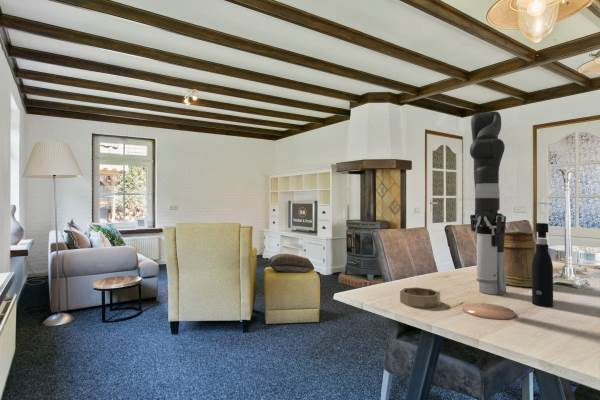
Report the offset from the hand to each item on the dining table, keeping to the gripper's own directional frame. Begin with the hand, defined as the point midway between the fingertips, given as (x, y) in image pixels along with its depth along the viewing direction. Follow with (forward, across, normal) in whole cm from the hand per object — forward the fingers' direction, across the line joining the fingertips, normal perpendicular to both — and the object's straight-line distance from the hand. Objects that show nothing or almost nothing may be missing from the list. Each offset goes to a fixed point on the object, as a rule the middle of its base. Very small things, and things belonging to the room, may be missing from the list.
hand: (487, 245), depth 123 cm
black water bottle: (+23, +2, -26) cm, 35 cm away
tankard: (+23, +34, -48) cm, 63 cm away
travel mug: (+13, 0, 0) cm, 13 cm away
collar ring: (+23, +16, +16) cm, 32 cm away
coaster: (+23, 0, 0) cm, 23 cm away
